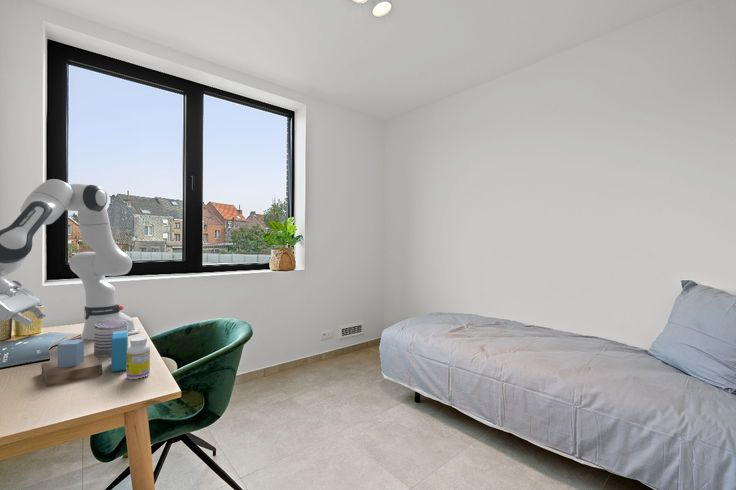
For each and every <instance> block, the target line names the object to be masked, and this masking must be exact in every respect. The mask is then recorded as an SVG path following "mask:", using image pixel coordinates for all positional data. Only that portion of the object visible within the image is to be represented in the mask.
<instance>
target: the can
mask: <svg viewBox="0 0 736 490" xmlns="http://www.w3.org/2000/svg"><path fill="white" fill-rule="evenodd" d="M128 324H129V322H127V321H124V320H106V321H99V322H97V323H95V324H93V325H95V327H94V342H93V343H94V345H93V351H94V352H93V355H94V356H95V357H96V356H97V357H112V336H113V332H115V331H125V330H128Z"/></svg>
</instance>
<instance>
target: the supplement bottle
mask: <svg viewBox="0 0 736 490" xmlns="http://www.w3.org/2000/svg"><path fill="white" fill-rule="evenodd" d="M147 341H148V338H147V337H146V336H138V337H132V338H131V339H130V346H128V349H127V367H126V368H127V370H125V371H126V373H125V374H126V378H127V379H128V380H132V379H135V380H138V379H137V378H141V379H143V378H142V377H144V376H146V375H148V374H149V375H150V373H151V372H150V371H151V366H150V365H151V360H150V359H151V347H150V345H149V344H147ZM149 375H148V376H149ZM146 377H147V376H146ZM144 378H145V377H144Z"/></svg>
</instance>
